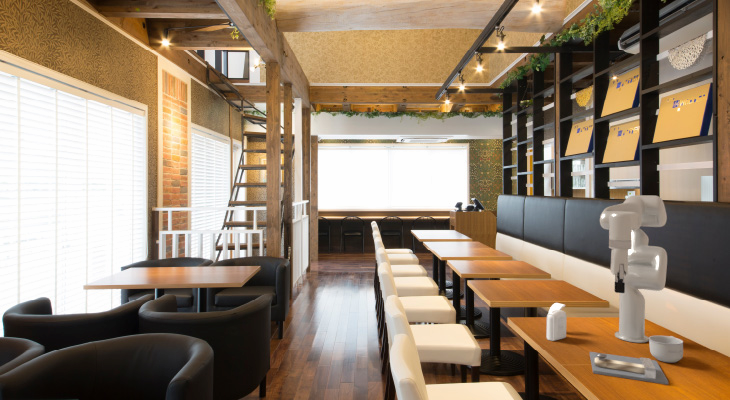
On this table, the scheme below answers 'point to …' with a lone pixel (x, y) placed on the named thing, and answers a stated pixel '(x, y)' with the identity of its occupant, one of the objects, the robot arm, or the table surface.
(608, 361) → the link
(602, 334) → the table surface
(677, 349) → the teacup
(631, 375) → the slate board
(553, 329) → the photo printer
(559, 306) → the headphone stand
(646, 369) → the keeper
